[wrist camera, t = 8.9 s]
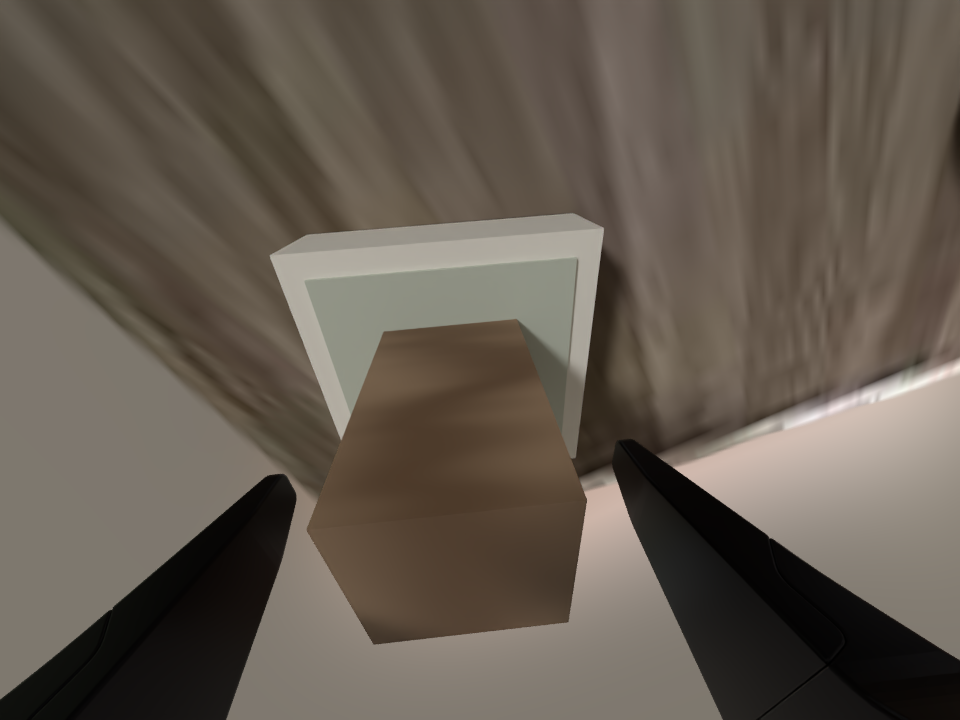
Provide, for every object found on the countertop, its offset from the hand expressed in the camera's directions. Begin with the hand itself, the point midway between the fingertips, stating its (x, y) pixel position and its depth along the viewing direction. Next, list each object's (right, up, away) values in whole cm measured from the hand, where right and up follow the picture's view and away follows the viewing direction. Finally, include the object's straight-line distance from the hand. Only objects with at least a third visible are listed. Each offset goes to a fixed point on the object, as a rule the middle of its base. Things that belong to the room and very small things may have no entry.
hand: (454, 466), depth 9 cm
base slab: (0, +4, +6) cm, 7 cm away
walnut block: (0, +2, +3) cm, 4 cm away
